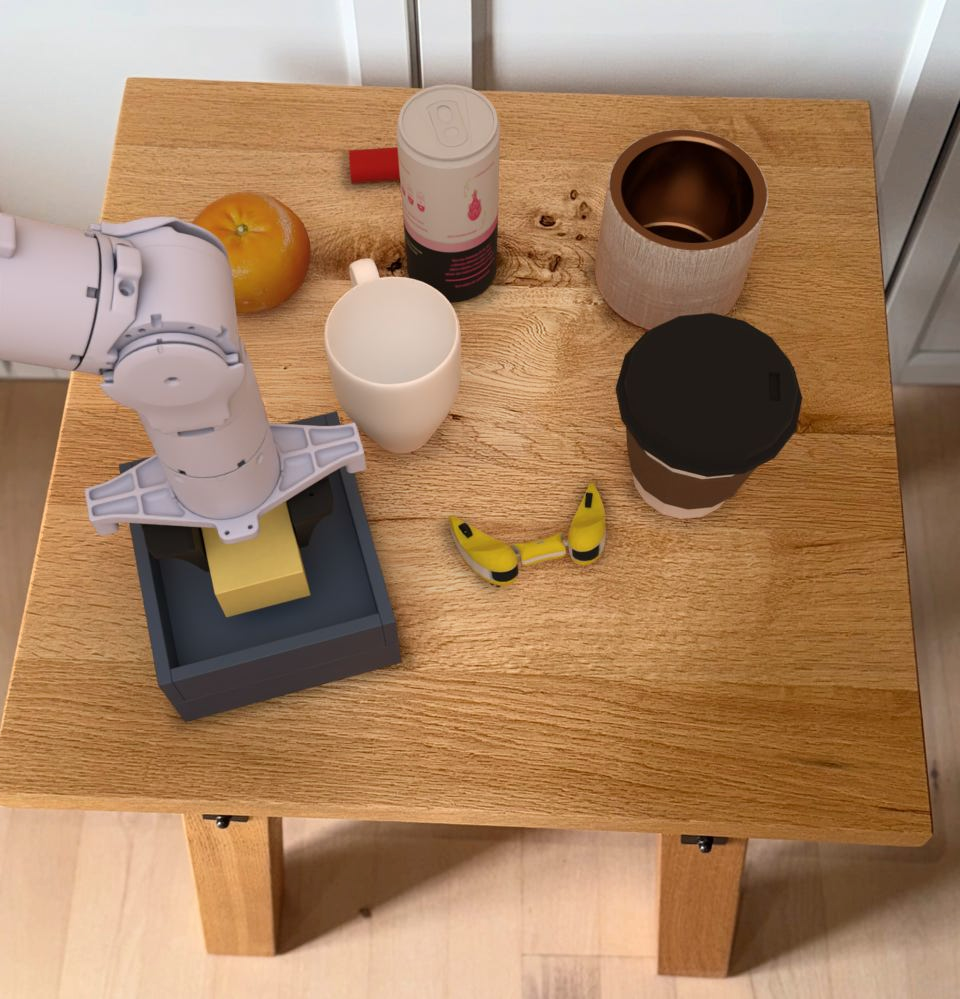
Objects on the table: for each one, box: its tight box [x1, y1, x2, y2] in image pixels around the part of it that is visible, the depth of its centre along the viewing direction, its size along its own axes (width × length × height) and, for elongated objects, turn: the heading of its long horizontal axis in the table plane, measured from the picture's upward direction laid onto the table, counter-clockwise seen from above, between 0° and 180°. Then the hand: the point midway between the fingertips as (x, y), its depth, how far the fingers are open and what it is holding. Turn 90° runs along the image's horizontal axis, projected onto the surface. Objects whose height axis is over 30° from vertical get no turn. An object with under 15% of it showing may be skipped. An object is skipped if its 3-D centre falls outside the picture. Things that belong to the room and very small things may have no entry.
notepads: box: [201, 501, 310, 617], centre depth 70 cm, size 5×8×4 cm, turn 16°
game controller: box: [448, 481, 607, 589], centre depth 77 cm, size 10×6×4 cm, turn 106°
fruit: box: [191, 190, 312, 314], centre depth 85 cm, size 8×9×8 cm
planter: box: [594, 128, 769, 331], centre depth 84 cm, size 11×11×10 cm
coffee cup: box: [615, 313, 803, 520], centre depth 75 cm, size 11×11×12 cm
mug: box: [323, 257, 462, 454], centre depth 78 cm, size 12×8×11 cm
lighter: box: [348, 147, 400, 184], centre depth 92 cm, size 3×1×8 cm
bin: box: [118, 410, 403, 723], centre depth 74 cm, size 14×15×7 cm
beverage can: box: [395, 83, 501, 304], centre depth 82 cm, size 6×7×15 cm
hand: (253, 544), depth 71 cm, fingers closed on notepads, 5 cm apart
